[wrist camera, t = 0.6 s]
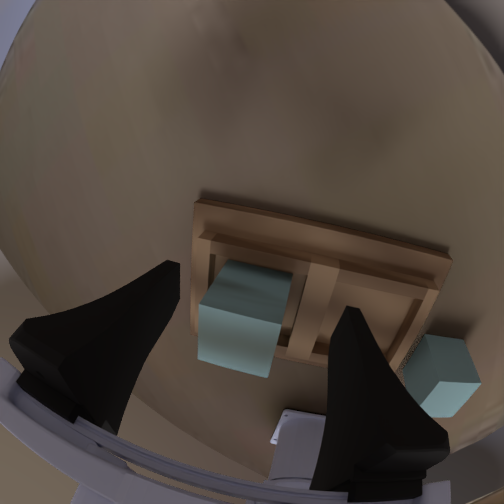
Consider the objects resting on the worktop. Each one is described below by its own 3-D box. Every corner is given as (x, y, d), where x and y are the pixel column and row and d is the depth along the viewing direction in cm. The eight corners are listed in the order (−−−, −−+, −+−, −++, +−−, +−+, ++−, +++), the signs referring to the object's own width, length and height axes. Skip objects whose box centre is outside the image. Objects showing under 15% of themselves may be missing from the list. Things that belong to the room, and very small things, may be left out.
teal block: (439, 373, 24) (451, 417, 19) (402, 369, 25) (410, 416, 20) (463, 339, 22) (481, 383, 17) (424, 333, 23) (439, 381, 17)
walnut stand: (390, 368, 25) (397, 427, 19) (195, 326, 28) (163, 379, 22) (447, 253, 19) (485, 305, 13) (200, 198, 22) (152, 232, 16)
